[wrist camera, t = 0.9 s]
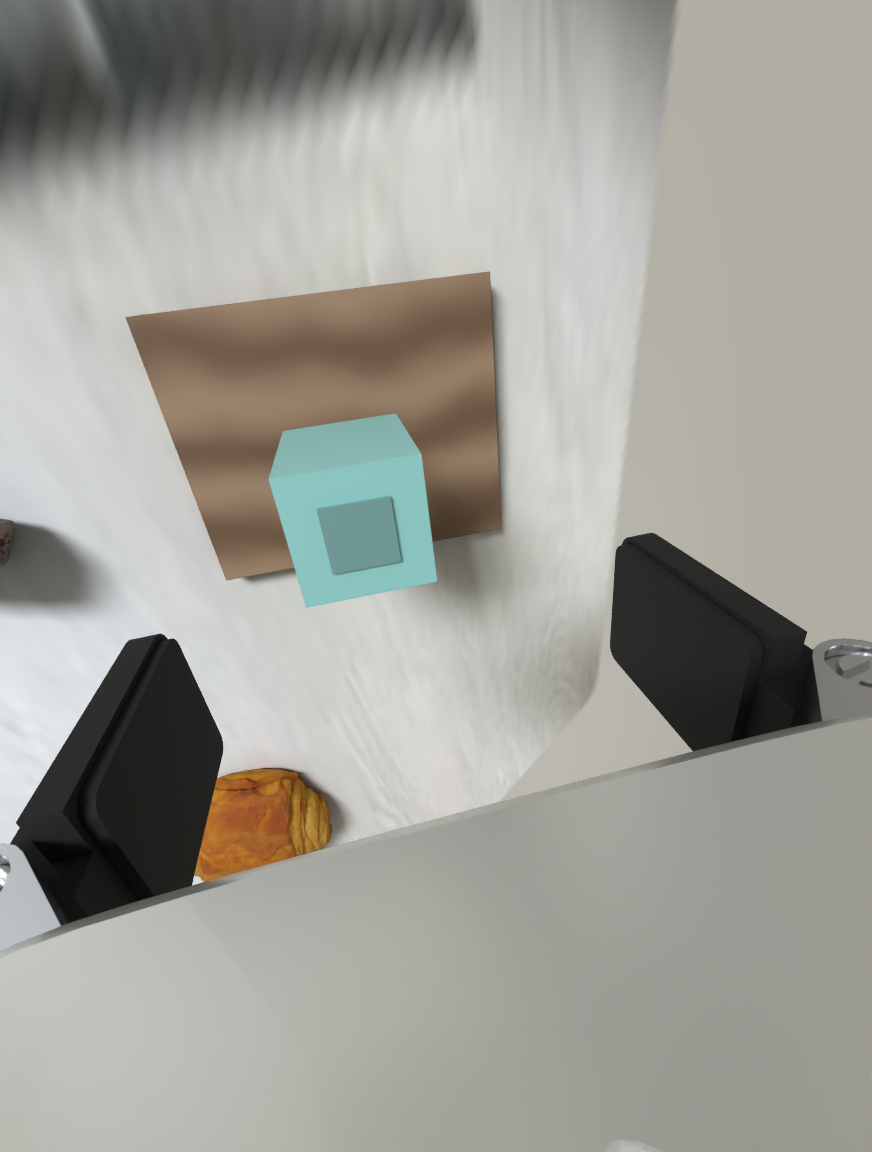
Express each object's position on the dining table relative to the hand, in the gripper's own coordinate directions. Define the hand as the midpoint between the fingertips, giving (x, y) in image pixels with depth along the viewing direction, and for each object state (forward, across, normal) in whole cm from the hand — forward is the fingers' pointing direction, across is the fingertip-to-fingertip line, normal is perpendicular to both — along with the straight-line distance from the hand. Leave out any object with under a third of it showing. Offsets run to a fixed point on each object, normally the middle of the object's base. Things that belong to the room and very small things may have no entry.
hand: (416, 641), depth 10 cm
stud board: (+29, +1, +1) cm, 29 cm away
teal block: (+19, +1, +2) cm, 19 cm away
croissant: (+31, +18, +39) cm, 53 cm away
